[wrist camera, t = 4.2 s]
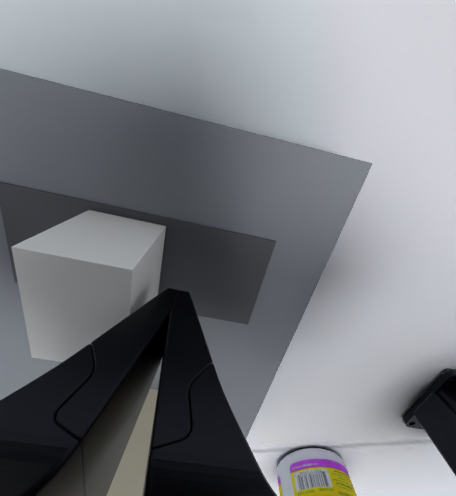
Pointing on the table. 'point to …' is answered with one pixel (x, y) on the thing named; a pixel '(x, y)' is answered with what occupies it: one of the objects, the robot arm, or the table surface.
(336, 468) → the supplement bottle
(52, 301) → the lever
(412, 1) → the table surface
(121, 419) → the robot arm
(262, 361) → the panel
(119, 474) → the beige block
